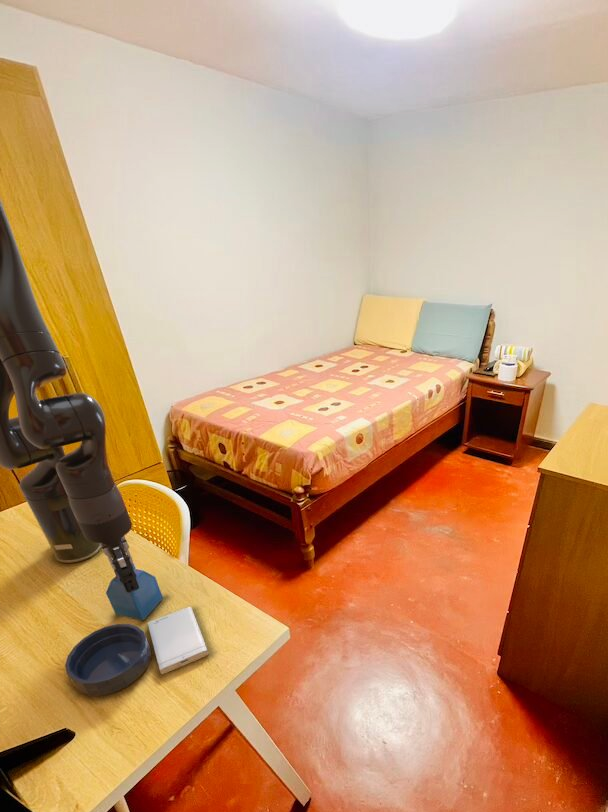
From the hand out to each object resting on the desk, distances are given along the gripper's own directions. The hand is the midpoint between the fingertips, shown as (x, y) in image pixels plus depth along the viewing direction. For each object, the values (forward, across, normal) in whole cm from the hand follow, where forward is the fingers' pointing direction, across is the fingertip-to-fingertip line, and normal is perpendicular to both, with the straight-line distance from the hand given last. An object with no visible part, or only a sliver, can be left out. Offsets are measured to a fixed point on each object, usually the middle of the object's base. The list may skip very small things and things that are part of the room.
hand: (129, 580), depth 83 cm
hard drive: (+8, -13, -4) cm, 16 cm away
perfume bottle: (+8, 0, 0) cm, 8 cm away
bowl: (+8, -12, +7) cm, 16 cm away
